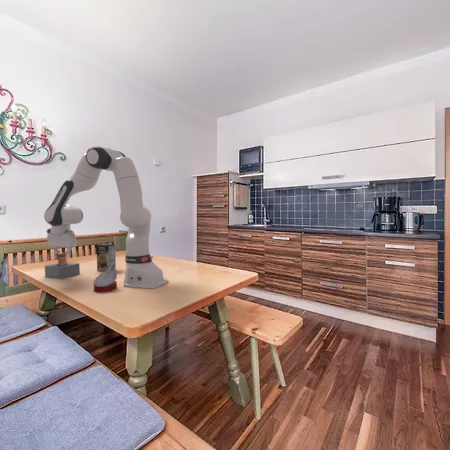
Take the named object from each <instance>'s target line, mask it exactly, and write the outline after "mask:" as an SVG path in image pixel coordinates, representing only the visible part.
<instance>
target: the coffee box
mask: <svg viewBox="0 0 450 450" xmlns="http://www.w3.org/2000/svg"><path fill="white" fill-rule="evenodd" d="M116 253H117V252H116V244H114V243H98V244H96V269H97V270H96V271H98V272H105V271H108V270H114V271H116V270H117V268H116V267H117V266H116V265H117V261H116V256H117V255H116Z"/></svg>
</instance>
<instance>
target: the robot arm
mask: <svg viewBox="0 0 450 450" xmlns="http://www.w3.org/2000/svg"><path fill="white" fill-rule="evenodd" d="M102 171H107V172H112V173H113V174H114V175H113V176H114V180H115V183H116V187H117V192H118V196H119V202H120V204H119V205H120V216H119V219H120V222H121V224H122V225H124V226H125V227H127V228H128V232H127V234H126V239H125V252H126V253H125V254H126V255H125V258H124V259H125V263H126V265H125V272H124V273H125V274H124V279H123V287H127V288H143V289H153V288H159V287H162V286H163V285H166V284H167V283H168V282H169V280H168V278H164V273H163V270H162V268H160V267H158V265H157V264H155V262H154V261H153V258H154V255H153V256H152V255H151V254H150V240H149V239H150V231H151V223H152V222H151V220H152V214H151V211H150V210H149V209H148V208H146V207H145V206H144V202H143V190H142V186H141V181H140V178H139V175H138V171H137V169H136V166H135V163H134V161H133V160H132V159H131V158H129V157H128V156H126V155H125V154H124V153H123V152H121V151H119V150H116V149H112V148H109V147H102V146H99V145H98V146H97V145H96V146H91V147H88V149H87V150H86V153H84V154H83V155H82V157H81V158H80V160H79V161H78V163H77V166H76V168H75V170H74V173H72V175H71V176H70V177H69V178H68V179H67V180H65V181H64V182H63V183H62V184H61V186H60V188H59V189H58V191H57V193H56V195H55V197H54V199H53V200H52V202H51V204H50V205H49V207H47V209H46V210H45V211H44V216H43V217H44V220H45V221H46V223H47V224H49V225H50V227H49V228H47V229H46V234H47V236H46V238H47V245H48V246H49V247H53V251H54V254H55V255H58V254H61V252H60V251H61V250H60V249H59V247H63V248H65V247H66V251H65V254H66V256H69V255H71V252H72V249H73V248H74V247H77V245H78V243H77V236H76V234H75V232H74V231H73V230H71V225H77V224H80V223H82V221H83V219H84V214H83V210H82V209H81V208H79V207H77V206H73V205H71V204H70V203H69V200H70V198H71V197H72V196H74V195H76V194H78V193H82V192H86V191H90V190H92V189H93V188H94V187H95V186H96V185H97V183H98V181H99V177H100V175H101V173H102Z"/></svg>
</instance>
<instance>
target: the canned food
mask: <svg viewBox="0 0 450 450" xmlns="http://www.w3.org/2000/svg"><path fill="white" fill-rule="evenodd" d="M117 275H118V274H117V272H116V270H108V271H102V273H100V274H98V275H97V276H96V277H95V279H94V281H93V292H94V293H99V294H100V293H102V294H103V293H110V292H113V291H115V290H117V288H118V283H117V281H116V279H117Z"/></svg>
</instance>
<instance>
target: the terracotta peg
mask: <svg viewBox="0 0 450 450" xmlns="http://www.w3.org/2000/svg"><path fill="white" fill-rule="evenodd" d="M57 262H58V266H63V265H67V262H68V261H67V255H66V253H59V254H57Z"/></svg>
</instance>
